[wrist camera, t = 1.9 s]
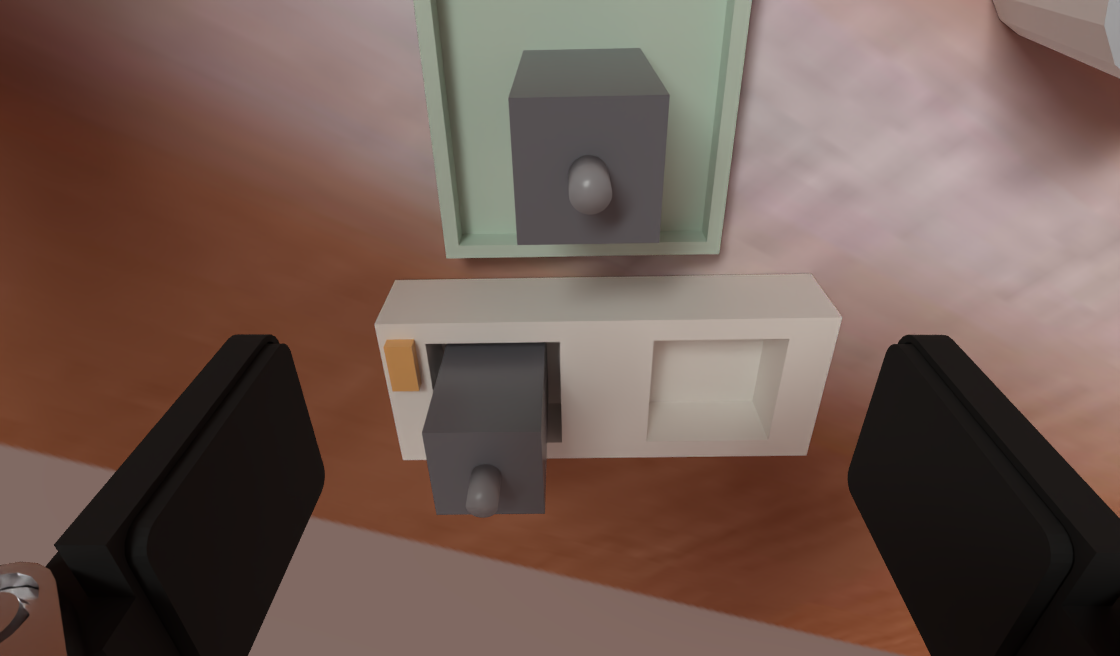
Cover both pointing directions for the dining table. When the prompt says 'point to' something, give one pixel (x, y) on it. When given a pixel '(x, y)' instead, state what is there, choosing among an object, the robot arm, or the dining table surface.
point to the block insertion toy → (598, 374)
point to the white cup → (1069, 28)
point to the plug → (587, 147)
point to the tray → (578, 23)
